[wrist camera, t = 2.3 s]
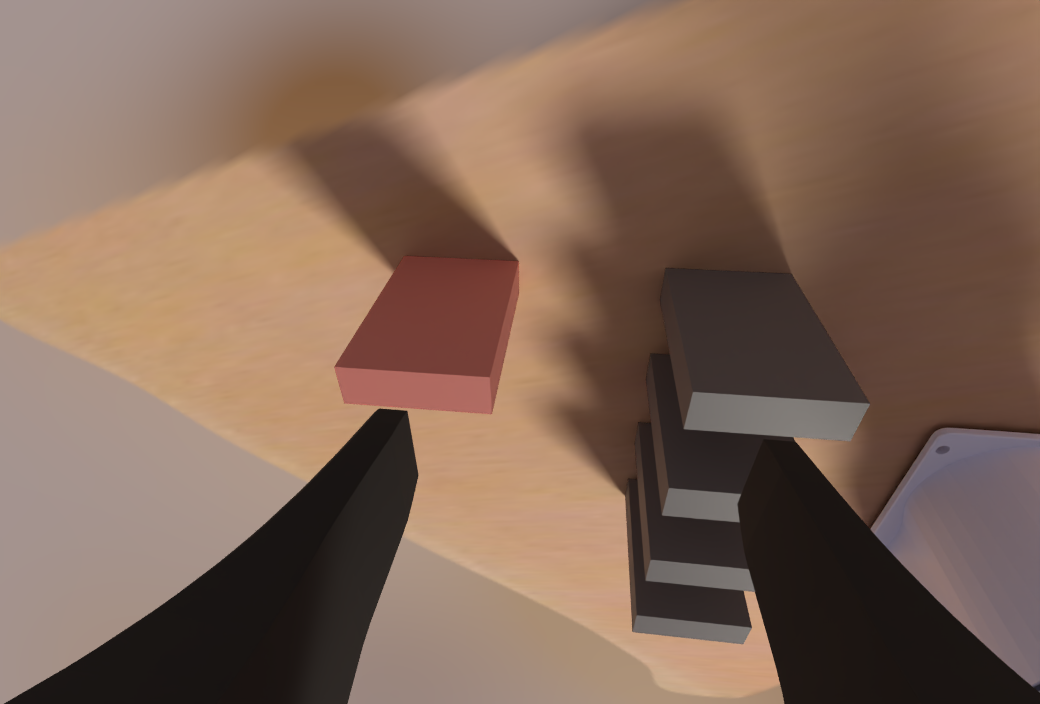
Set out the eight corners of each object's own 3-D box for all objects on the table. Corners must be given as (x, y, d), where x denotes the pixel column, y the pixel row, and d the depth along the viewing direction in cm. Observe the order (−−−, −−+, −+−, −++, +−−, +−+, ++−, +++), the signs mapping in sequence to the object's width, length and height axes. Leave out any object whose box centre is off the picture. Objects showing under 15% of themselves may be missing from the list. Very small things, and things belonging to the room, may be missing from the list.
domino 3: (731, 450, 25) (770, 593, 20) (634, 443, 26) (645, 580, 20) (738, 429, 24) (781, 572, 19) (638, 422, 25) (650, 559, 19)
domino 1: (780, 306, 20) (850, 441, 15) (659, 300, 21) (683, 429, 15) (791, 273, 19) (870, 403, 14) (665, 267, 20) (693, 392, 14)
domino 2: (753, 386, 23) (804, 528, 17) (645, 379, 23) (662, 515, 18) (762, 360, 22) (819, 500, 16) (650, 353, 22) (668, 487, 17)
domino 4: (713, 503, 27) (743, 644, 22) (625, 496, 28) (632, 632, 22) (719, 486, 27) (751, 627, 21) (628, 478, 27) (636, 615, 22)
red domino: (518, 292, 21) (492, 414, 16) (408, 286, 22) (344, 403, 16) (518, 261, 20) (489, 377, 15) (404, 255, 21) (334, 366, 15)
